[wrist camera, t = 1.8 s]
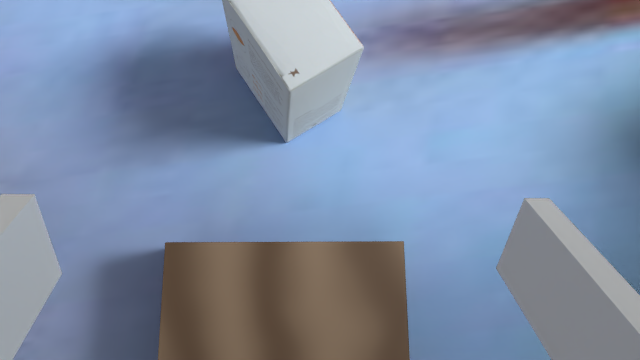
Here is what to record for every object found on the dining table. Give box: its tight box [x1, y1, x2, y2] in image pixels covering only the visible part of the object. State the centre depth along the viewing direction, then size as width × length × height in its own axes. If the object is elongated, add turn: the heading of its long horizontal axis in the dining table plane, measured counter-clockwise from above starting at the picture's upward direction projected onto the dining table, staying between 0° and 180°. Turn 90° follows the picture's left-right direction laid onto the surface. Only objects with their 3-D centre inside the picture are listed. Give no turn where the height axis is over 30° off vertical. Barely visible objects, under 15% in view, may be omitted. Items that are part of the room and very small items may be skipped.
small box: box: [222, 0, 364, 143], centre depth 31 cm, size 8×6×10 cm
